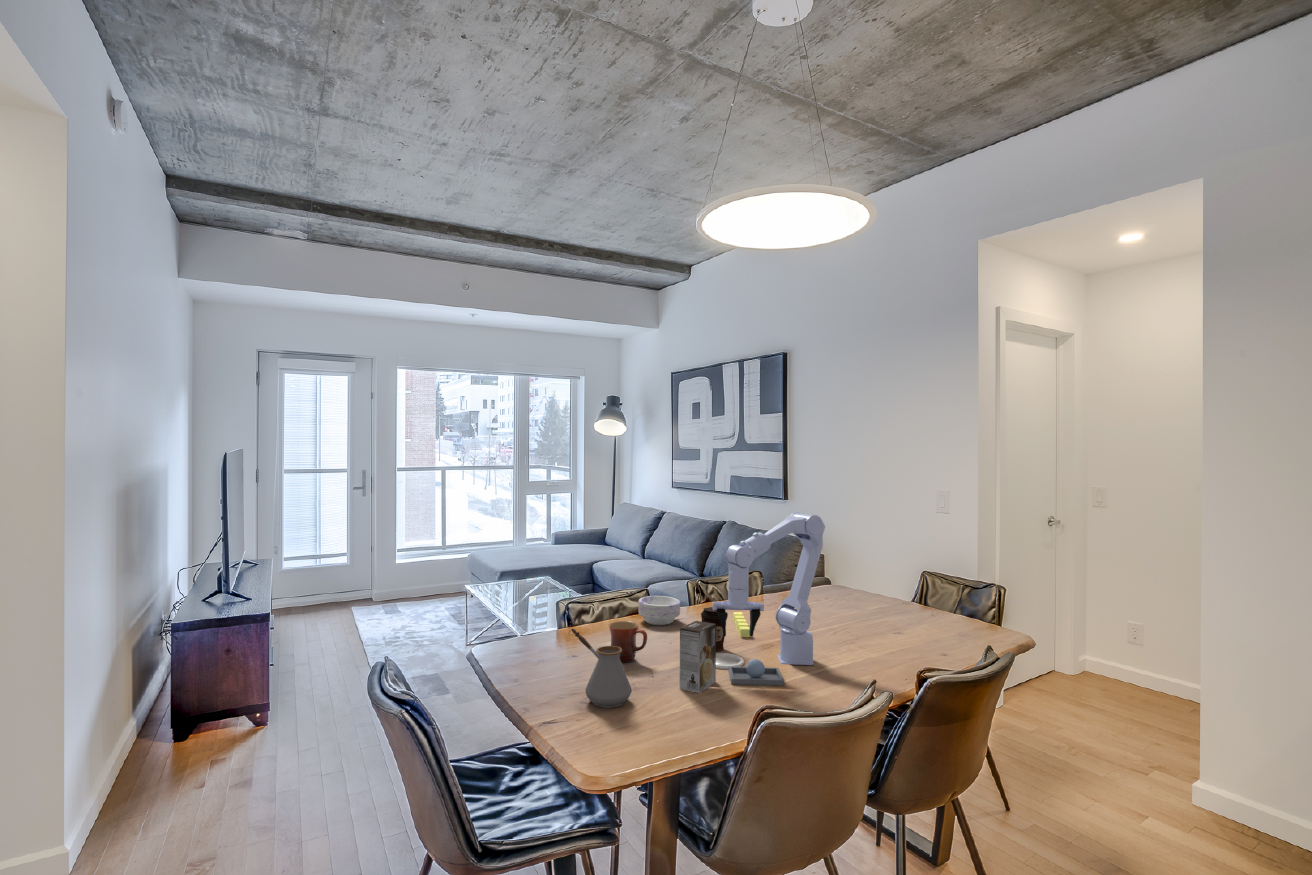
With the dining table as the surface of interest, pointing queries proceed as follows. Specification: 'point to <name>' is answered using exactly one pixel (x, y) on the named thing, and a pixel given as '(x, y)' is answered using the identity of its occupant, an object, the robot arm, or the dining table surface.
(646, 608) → the paper bowls
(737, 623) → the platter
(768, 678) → the tray
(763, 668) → the ball
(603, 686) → the coffee pot
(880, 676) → the dining table surface
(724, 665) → the saucer
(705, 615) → the coffee cup
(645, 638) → the mug
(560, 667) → the dining table surface
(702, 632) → the coffee box
